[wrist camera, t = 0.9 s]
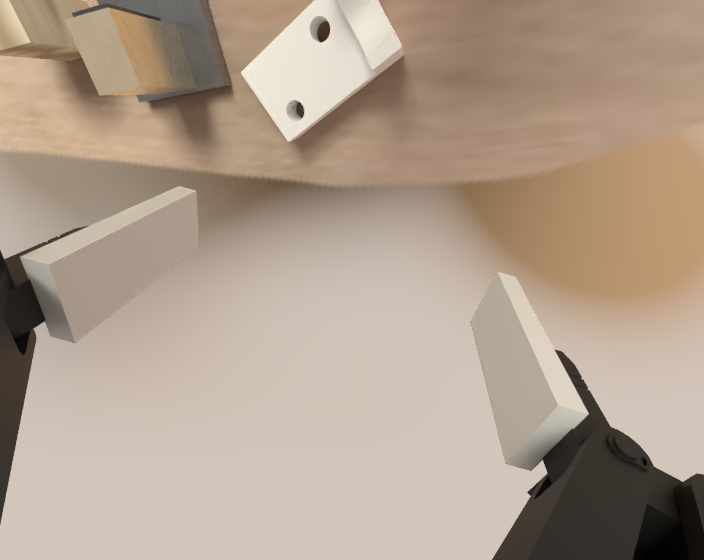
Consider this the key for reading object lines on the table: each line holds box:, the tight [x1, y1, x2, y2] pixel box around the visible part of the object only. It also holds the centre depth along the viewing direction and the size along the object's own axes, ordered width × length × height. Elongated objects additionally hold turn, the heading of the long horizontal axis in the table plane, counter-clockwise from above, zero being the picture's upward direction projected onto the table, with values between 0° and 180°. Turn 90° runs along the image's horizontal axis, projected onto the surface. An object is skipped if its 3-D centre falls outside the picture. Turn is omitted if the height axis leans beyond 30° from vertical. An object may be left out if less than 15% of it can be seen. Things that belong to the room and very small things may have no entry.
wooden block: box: [0, 0, 89, 61], centre depth 30 cm, size 5×4×8 cm
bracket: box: [241, 0, 404, 142], centre depth 28 cm, size 13×7×8 cm, turn 124°
